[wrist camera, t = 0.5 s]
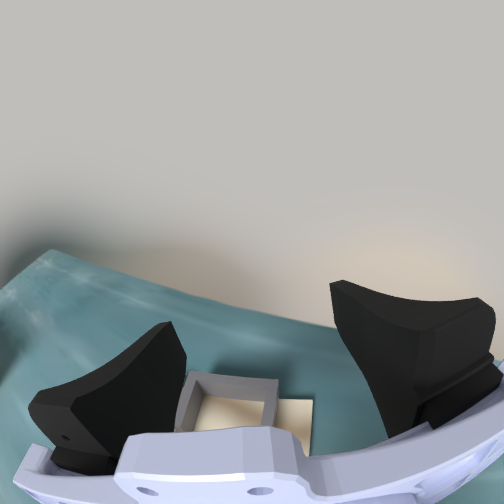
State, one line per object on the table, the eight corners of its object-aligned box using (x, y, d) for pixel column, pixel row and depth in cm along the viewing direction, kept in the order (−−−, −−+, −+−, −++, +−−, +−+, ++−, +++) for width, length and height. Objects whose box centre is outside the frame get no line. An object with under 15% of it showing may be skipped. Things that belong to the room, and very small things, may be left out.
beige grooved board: (293, 559, 10) (294, 564, 9) (109, 512, 14) (92, 508, 12) (312, 403, 25) (314, 391, 24) (157, 385, 29) (147, 372, 27)
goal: (271, 450, 20) (269, 441, 19) (181, 436, 22) (170, 424, 20) (279, 394, 26) (278, 379, 24) (198, 386, 27) (189, 370, 26)
